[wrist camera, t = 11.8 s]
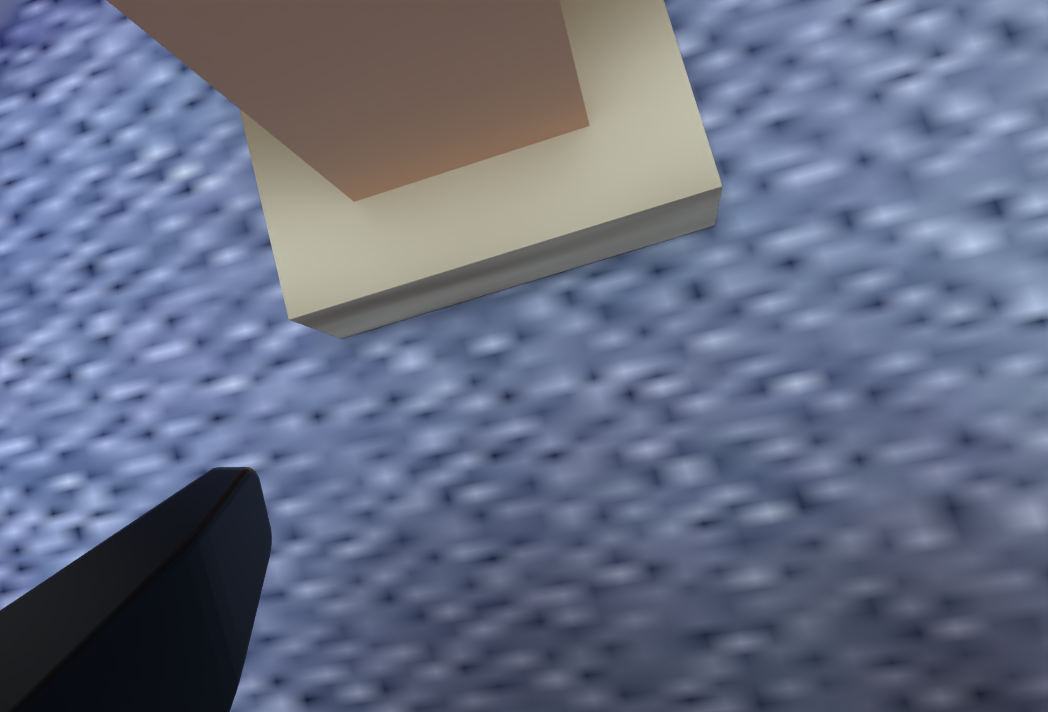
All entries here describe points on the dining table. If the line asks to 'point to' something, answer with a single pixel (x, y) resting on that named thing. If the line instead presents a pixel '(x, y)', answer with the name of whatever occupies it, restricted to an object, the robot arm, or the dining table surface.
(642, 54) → the plinth
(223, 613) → the robot arm
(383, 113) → the brown block
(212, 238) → the dining table surface
